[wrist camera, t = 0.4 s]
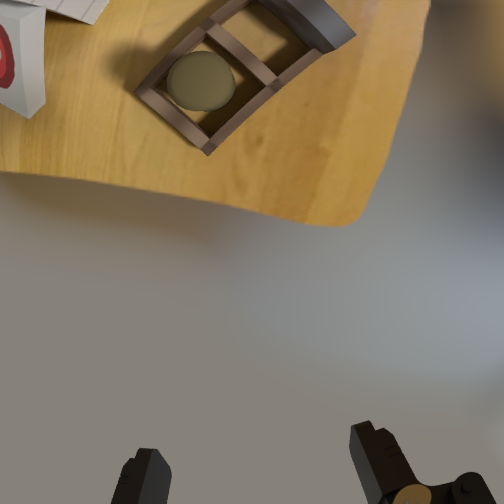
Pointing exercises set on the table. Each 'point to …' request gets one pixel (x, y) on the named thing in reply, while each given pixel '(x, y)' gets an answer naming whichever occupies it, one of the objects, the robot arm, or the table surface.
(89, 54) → the table surface
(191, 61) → the cork
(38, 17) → the pizza boxes
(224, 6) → the divided wooden tray frame
